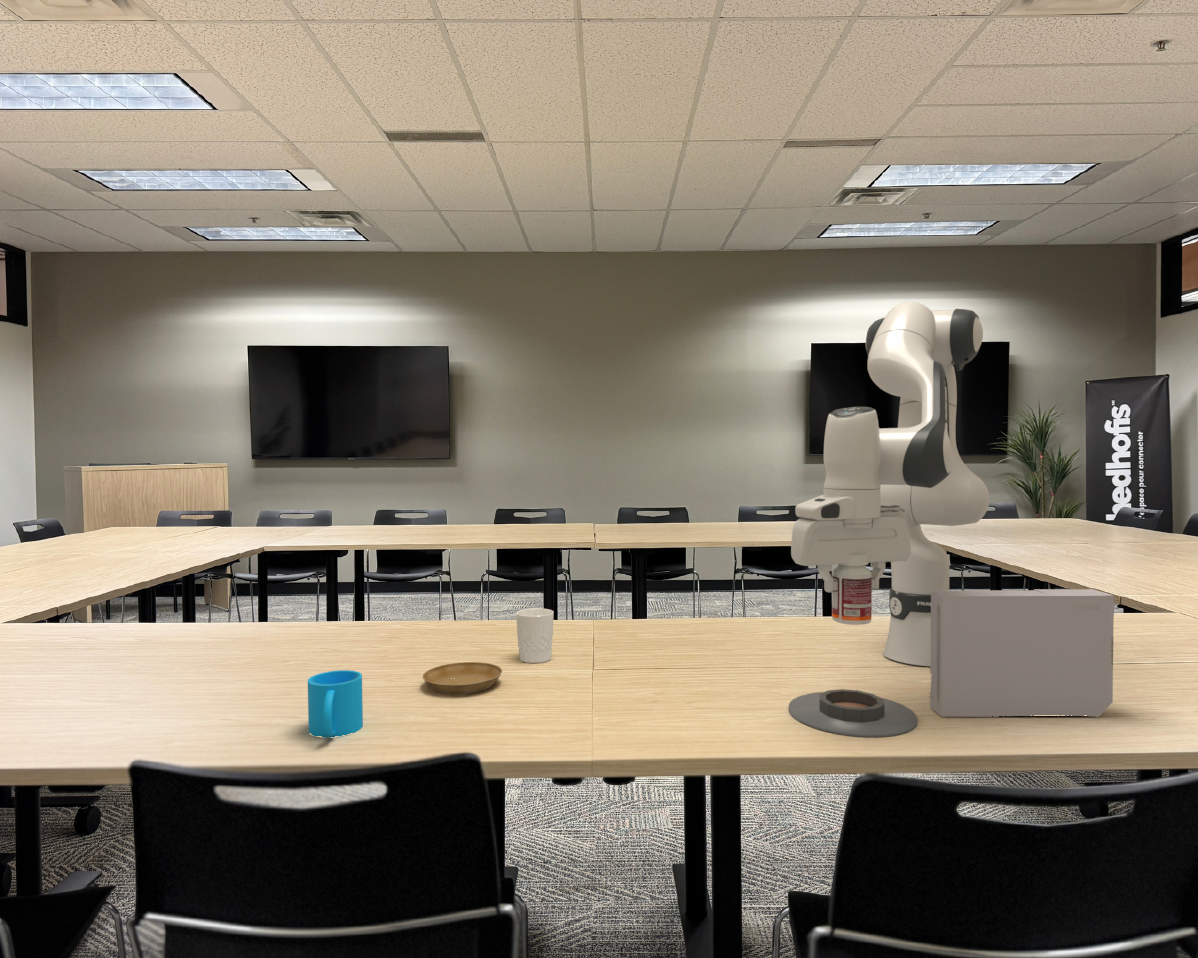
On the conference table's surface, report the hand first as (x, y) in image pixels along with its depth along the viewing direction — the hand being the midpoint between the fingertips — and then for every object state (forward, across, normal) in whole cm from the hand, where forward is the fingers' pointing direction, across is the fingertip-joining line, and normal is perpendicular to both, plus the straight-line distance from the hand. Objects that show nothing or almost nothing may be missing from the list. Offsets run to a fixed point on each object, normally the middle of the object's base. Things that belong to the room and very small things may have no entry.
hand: (851, 590), depth 121 cm
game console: (+21, -27, +6) cm, 35 cm away
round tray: (+20, 0, 0) cm, 21 cm away
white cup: (+21, +45, -47) cm, 68 cm away
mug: (+21, +82, -14) cm, 86 cm away
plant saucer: (+21, +61, -33) cm, 72 cm away
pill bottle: (+5, 0, 0) cm, 5 cm away
